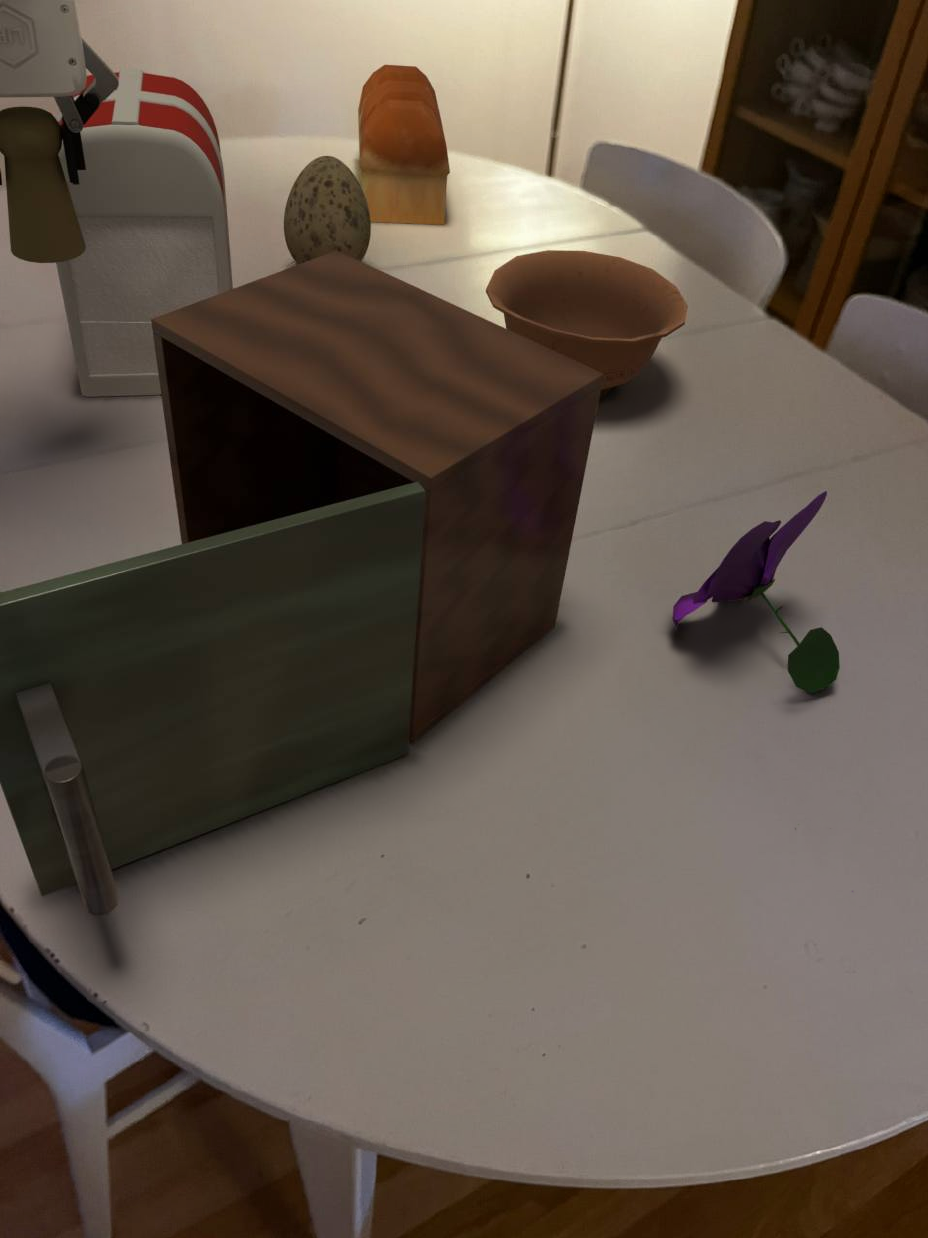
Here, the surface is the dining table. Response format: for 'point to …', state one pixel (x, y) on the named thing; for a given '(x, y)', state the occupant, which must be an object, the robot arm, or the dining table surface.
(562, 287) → the bowl
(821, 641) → the flower
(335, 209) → the decorative egg
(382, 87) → the bread
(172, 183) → the white box red top
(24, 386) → the dining table surface
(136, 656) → the cupboard door
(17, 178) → the brown rounded tall piece
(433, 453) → the cupboard
